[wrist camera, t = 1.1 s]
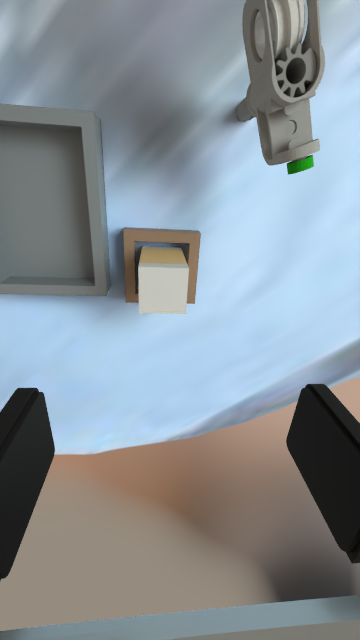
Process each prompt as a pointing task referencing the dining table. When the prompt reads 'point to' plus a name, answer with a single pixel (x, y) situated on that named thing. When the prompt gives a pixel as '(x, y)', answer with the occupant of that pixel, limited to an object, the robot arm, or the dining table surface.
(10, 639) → the robot arm
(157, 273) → the block
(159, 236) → the brown flat square frame
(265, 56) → the mechanical component
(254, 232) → the dining table surface
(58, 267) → the parts tray
